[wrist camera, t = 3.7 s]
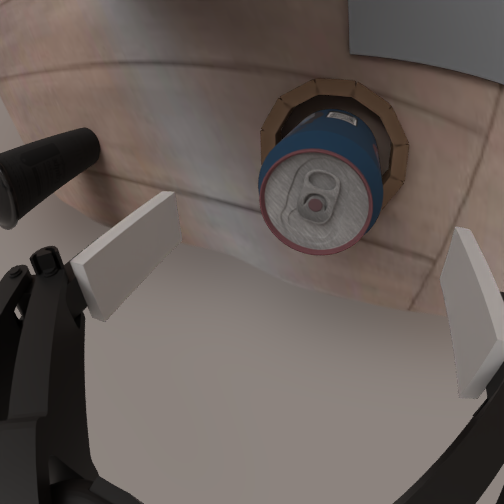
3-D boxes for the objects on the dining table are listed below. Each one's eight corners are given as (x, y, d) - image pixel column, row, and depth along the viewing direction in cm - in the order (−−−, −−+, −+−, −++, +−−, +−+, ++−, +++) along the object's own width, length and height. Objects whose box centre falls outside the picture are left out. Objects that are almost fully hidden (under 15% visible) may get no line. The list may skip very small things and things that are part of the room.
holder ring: (269, 203, 30) (262, 212, 28) (265, 77, 23) (258, 78, 22) (394, 219, 26) (396, 230, 25) (409, 88, 20) (413, 89, 19)
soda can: (362, 197, 26) (356, 281, 17) (286, 172, 28) (238, 241, 18) (387, 123, 22) (406, 166, 13) (304, 96, 23) (261, 120, 14)
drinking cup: (63, 116, 32) (-77, 184, 16) (106, 116, 30) (-57, 193, 14) (70, 172, 36) (-53, 253, 20) (111, 179, 34) (-26, 277, 19)
